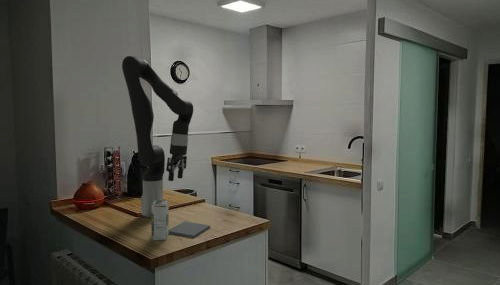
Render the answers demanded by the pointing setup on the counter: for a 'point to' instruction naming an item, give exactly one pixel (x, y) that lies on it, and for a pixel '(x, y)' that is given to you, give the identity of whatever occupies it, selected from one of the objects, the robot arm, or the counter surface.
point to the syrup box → (160, 220)
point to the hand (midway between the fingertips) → (175, 179)
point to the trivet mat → (188, 229)
